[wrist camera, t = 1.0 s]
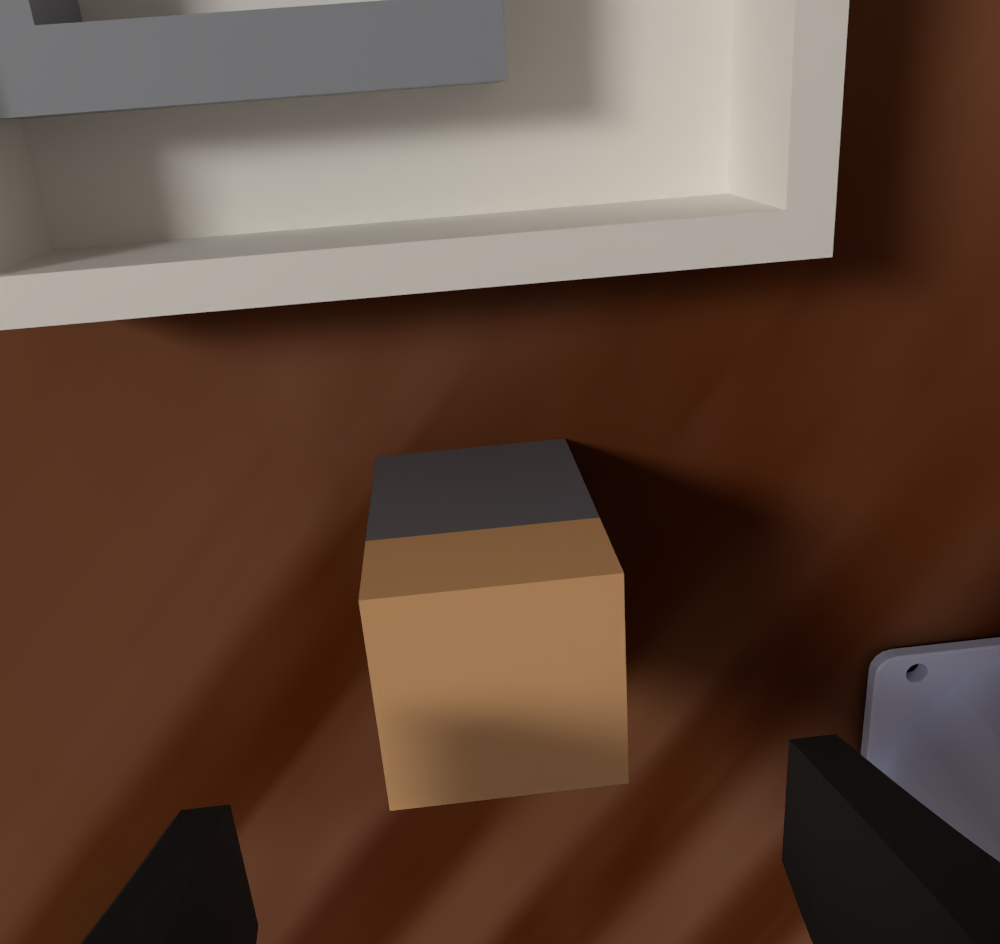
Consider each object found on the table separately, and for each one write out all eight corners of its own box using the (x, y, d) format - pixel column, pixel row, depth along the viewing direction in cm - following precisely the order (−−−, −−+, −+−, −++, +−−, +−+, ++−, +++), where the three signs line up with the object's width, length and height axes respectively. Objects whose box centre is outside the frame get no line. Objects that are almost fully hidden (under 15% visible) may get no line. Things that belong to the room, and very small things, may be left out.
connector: (565, 438, 19) (623, 573, 14) (572, 602, 21) (628, 783, 15) (375, 456, 19) (358, 600, 14) (397, 621, 21) (389, 810, 15)
